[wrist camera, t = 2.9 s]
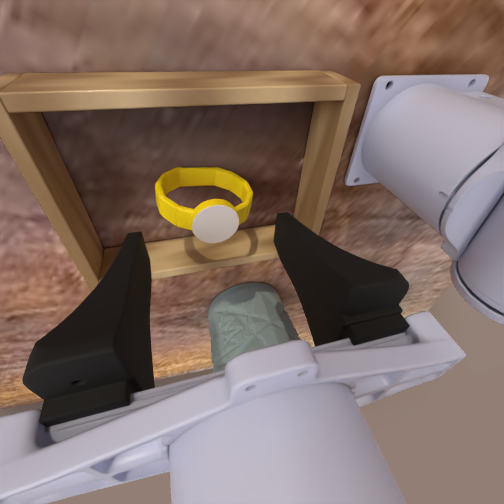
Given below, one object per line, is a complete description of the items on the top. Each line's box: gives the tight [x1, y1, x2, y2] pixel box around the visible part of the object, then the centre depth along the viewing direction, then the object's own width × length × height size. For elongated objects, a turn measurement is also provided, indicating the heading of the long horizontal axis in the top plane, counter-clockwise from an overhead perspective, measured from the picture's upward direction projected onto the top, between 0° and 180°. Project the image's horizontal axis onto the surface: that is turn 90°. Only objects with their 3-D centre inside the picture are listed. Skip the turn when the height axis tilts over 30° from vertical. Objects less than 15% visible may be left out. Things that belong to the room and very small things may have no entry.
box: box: [0, 70, 361, 290], centre depth 18 cm, size 18×13×4 cm
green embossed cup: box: [208, 282, 300, 372], centre depth 28 cm, size 10×10×12 cm
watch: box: [155, 167, 253, 243], centre depth 17 cm, size 6×3×6 cm, turn 80°
